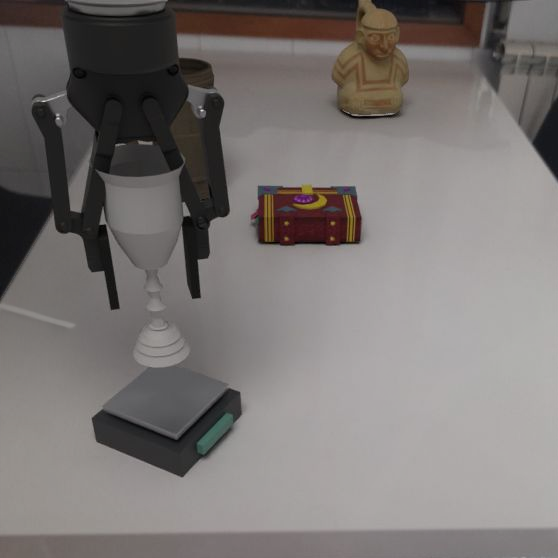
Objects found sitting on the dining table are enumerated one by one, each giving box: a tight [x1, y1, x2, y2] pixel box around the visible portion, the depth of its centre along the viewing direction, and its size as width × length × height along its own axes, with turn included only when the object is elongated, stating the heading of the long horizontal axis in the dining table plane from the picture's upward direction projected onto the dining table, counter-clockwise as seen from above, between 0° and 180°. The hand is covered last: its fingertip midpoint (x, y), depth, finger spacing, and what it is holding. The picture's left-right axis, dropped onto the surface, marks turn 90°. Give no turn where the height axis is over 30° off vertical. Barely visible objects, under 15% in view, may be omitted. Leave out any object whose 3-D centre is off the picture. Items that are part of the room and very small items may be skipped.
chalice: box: [88, 143, 191, 368], centre depth 60 cm, size 7×7×18 cm
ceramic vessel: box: [330, 0, 410, 115], centre depth 151 cm, size 17×20×25 cm
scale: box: [91, 387, 243, 478], centre depth 70 cm, size 11×10×3 cm
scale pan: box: [101, 364, 230, 440], centre depth 69 cm, size 8×8×1 cm
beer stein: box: [124, 57, 215, 202], centre depth 112 cm, size 15×11×20 cm
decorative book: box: [250, 184, 363, 245], centre depth 107 cm, size 11×16×5 cm
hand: (154, 295), depth 62 cm, fingers closed on chalice, 6 cm apart
